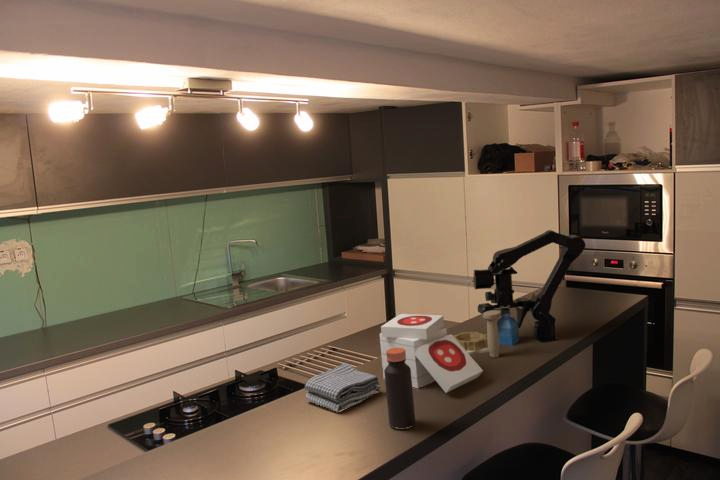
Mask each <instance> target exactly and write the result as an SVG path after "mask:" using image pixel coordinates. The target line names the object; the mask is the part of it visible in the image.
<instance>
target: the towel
mask: <svg viewBox="0 0 720 480" xmlns="http://www.w3.org/2000/svg"><path fill="white" fill-rule="evenodd" d="M380 385H381V384H380V382H379V377H378V375H374V374H371V373H367V372H364V371H359V370H357V369H356V368H355V367H353V366H352V365H351V364H349V363H348V362H344V363H342V364H340V365H338V366H337V367H334V368H331V369H328V370H326V371H324V372H322V373H320V374H318V375H314V376H313V377H311V378H309V379H308V380H307V382H306V384H304V389H305V391H307V392H306V394H305V399H306V400H307V401H308V402H310V403H312V404H314V403H315V405H317V406H319V405H320V407H322V406H323V407H322V408H324V407H326V408H325V409H327V408H329V409H328V410H330V409H331V410H330V411H332V410H333V412H334V411H336V412H335V413H340V412H339V411H340V410H342V409H345V408H348V407H351V406H353V405H355V406H357V405H358V403H359V404H360V403H362V402H363V400H364V401H365V400H367V399H369V398H370V397H369V396H371V395H372V394H373V393H375V391H379V392H380V388H381V386H380ZM368 397H369V398H368ZM371 397H372V396H371ZM366 398H367V399H366ZM356 404H357V405H356ZM353 407H354V406H353ZM351 408H352V407H351Z"/></svg>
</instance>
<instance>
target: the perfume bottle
mask: <svg viewBox="0 0 720 480" xmlns="http://www.w3.org/2000/svg"><path fill="white" fill-rule="evenodd" d="M511 315H512V312H511V308H507V309H501V310H500V316H501V318H500V317H499V318H498V319H497V325H498V333H499V342H500V345H501V346H502V345H503V346H514V345H516V344H517V343H518V342H519V341H520V332H519V329H520V328H518V323H517V319H515V318H514V317H511Z"/></svg>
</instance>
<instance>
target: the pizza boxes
mask: <svg viewBox="0 0 720 480" xmlns="http://www.w3.org/2000/svg"><path fill="white" fill-rule="evenodd" d="M444 319H445V318H444V315H441V314H440V315H439V314H438V315H437V314H436V315H435V314H416V313H415V314H413V313H411V314H410V313H400V314H398V315H396V316H395V317H393V318H391V320H388V322H386V323H385V324H382V325H381V326H380V330H381V332H380V333H379V343H380V353H381V354H380V355H381V365H382V374H383V375H382V377H383V379H384V378H385V373H384V371H385V368H386V367H387V366H388V365H389V363H388V362H387V355H386V351H387V350H388V349H391V348H403V349H405V353H406V361H405V363H406V364H407V365H408V366H409V367H410V369H411V378H412V387H415V388H420V387H422V388H423V386H424V387H426V386H428V385H430V384H432V382H433V383H434V381H435V382H436V383H437V384H438V385H439V386H440V388H441V389H442V390H443V391H444V393H445V394H446V393H449V392H451V391H453V390H455V389H457V388H459V387H461V386H463V385H465V384H467V383H469V382H472V381H473V380H476V379H477V378H479V377H480V376H481V374H482V373H483V372H484V370H483V369H482V367H480V366H479V364H478V363H477V362H476V361H475V360H474V359H473V358H472V355H469V354H468V353H467V352H466V350H465V349H464V348H463V347H462V346H461V345H460V344H459V342H458V341H457V340H456V339H455V338H454V337H453V335H452V333H451V334H448V332H447V331H448V329H447V328H446V327H445V328H444V326H445V323H444V322H445V321H444ZM429 383H430V384H429ZM427 384H428V385H427ZM425 385H426V386H425ZM415 388H414V389H415ZM420 389H421V388H420Z"/></svg>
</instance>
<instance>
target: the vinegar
mask: <svg viewBox="0 0 720 480" xmlns="http://www.w3.org/2000/svg"><path fill="white" fill-rule="evenodd" d="M386 355H387V362H388V363H389V365H388V366H387V367H386V368H385V371H384V373H385V379H384V382H385V383H384V384H385V391H386V400H387V401H386V404H387V411H388V425H389V426H390V425H391V426H393V427H398V428H406V427H410V426H413V425H414V424H415V425H416V415H415V414H416V412H415V403H414V401H415V400H414V394H413V393H414V391H413V389H414V388H412V378H411V369H410V367H409V366H408V365H407V364H406V363H405V361H406V353H405V349H403V348H391V349H388V350H387V351H386ZM415 425H414V426H415ZM391 426H390V427H391ZM414 426H413V427H414Z"/></svg>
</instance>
